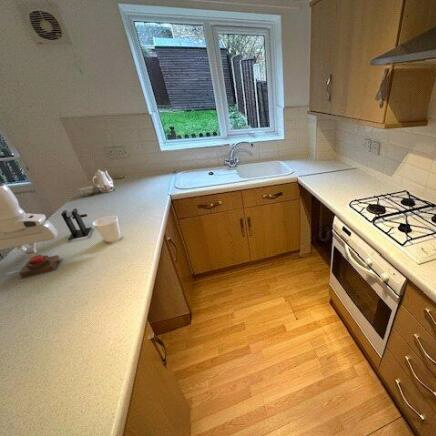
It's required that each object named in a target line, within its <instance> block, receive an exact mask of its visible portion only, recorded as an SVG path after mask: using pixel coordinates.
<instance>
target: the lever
mask: <svg viewBox="0 0 436 436" xmlns="http://www.w3.org/2000/svg"><path fill="white" fill-rule="evenodd" d="M72 211H73V210H71V211H67V212H66V215H67V217H70V218H71V219H72V220H75V218H74V216H73V214H72ZM79 215H80V217H81V219H83V218H86V217H88V214H87V213H83V214H79Z"/></svg>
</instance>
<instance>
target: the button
mask: <svg viewBox="0 0 436 436" xmlns="http://www.w3.org/2000/svg"><path fill="white" fill-rule="evenodd" d="M43 260H44V258H43V255H42V254H38V255H34V256H32V257H30V258H29V259H28V261H30V263H31V264H36V263H39V262H41V261H43Z"/></svg>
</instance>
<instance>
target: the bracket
mask: <svg viewBox="0 0 436 436" xmlns="http://www.w3.org/2000/svg"><path fill="white" fill-rule="evenodd" d="M71 211H72V214H73V216H74V218H75V219H74V220H75V222H76V224H77V226H78V228H79V229H77V227H76V226H75V224H74V222H73V219H72V217H67V215H66V212H68V210H67V209H65V210H64V209H63V211H62V212H61V213H60V215H61V217H62V219H63V221H64V223H65V224H66V227H67V228H68V230H69V232H70V235H69V237H68V239H67V241H70V240H77V239H80V238H84V237H85V238H86V237H88V236H89V234H90V232H91V231H92V228H93V226H90V227H86V225H85V222H84V221H83V218H81V217H80V215H81V214H80V213H79V210H78V208H73V209H72V210H71Z"/></svg>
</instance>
